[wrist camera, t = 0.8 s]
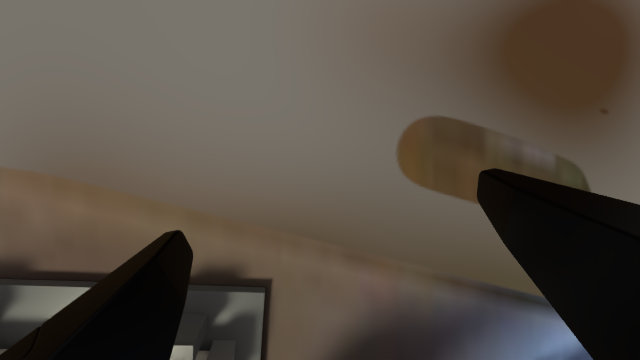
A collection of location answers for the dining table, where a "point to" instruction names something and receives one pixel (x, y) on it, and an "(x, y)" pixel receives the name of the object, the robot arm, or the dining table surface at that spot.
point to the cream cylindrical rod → (211, 351)
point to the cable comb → (194, 330)
